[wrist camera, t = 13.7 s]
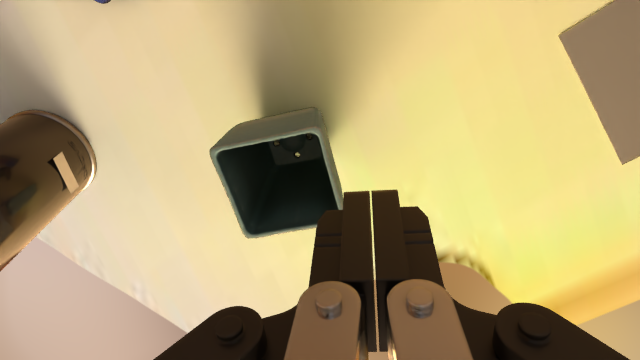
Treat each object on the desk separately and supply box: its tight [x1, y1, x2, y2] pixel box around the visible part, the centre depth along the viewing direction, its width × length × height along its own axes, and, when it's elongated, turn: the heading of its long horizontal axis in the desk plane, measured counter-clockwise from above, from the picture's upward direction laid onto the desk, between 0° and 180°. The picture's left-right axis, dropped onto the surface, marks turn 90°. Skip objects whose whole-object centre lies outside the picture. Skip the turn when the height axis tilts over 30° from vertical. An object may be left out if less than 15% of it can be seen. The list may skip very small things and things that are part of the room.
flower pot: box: [210, 107, 343, 239], centre depth 38 cm, size 9×9×9 cm
